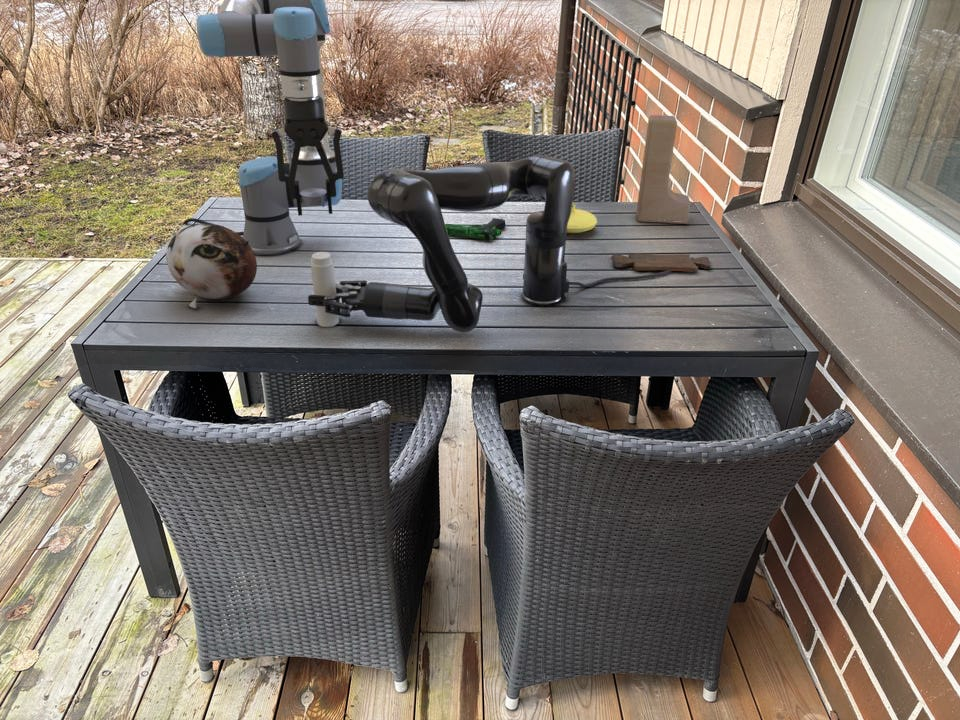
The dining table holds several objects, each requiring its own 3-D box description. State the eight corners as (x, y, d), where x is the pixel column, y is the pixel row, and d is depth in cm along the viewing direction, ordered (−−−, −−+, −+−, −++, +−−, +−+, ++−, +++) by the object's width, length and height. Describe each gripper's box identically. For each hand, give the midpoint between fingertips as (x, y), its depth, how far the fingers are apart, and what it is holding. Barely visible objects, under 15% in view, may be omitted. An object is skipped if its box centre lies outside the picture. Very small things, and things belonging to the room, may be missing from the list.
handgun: (511, 219, 210) (493, 234, 198) (511, 228, 211) (492, 244, 199) (461, 212, 215) (440, 226, 203) (461, 221, 217) (440, 236, 204)
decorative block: (687, 224, 215) (705, 122, 200) (637, 221, 217) (650, 120, 202) (685, 216, 222) (701, 116, 206) (636, 213, 223) (648, 114, 208)
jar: (322, 328, 156) (314, 261, 148) (314, 320, 159) (306, 253, 151) (342, 323, 158) (336, 256, 150) (334, 315, 162) (327, 249, 153)
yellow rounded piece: (559, 216, 220) (561, 193, 217) (605, 227, 212) (608, 204, 209) (532, 230, 209) (533, 207, 206) (580, 242, 201) (582, 218, 198)
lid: (312, 194, 152) (311, 186, 151) (333, 199, 149) (332, 190, 148) (294, 202, 147) (293, 193, 146) (316, 207, 145) (315, 198, 144)
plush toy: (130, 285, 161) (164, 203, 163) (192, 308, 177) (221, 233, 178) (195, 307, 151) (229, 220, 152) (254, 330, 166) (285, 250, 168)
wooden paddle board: (715, 274, 184) (705, 259, 193) (716, 268, 183) (706, 253, 192) (615, 271, 185) (610, 256, 193) (615, 265, 184) (610, 250, 192)
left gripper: (251, 102, 133) (269, 221, 145) (352, 99, 136) (361, 216, 148) (254, 94, 139) (270, 208, 151) (350, 91, 142) (358, 203, 155)
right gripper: (397, 271, 158) (323, 265, 160) (378, 299, 146) (298, 292, 148) (398, 302, 162) (326, 296, 164) (380, 332, 149) (303, 324, 152)
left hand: (315, 212), depth 150 cm, fingers closed on lid, 5 cm apart
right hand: (313, 294), depth 156 cm, fingers closed on jar, 4 cm apart
